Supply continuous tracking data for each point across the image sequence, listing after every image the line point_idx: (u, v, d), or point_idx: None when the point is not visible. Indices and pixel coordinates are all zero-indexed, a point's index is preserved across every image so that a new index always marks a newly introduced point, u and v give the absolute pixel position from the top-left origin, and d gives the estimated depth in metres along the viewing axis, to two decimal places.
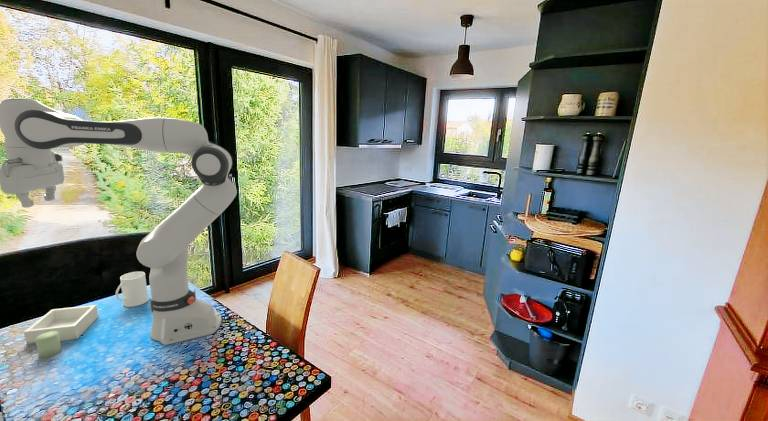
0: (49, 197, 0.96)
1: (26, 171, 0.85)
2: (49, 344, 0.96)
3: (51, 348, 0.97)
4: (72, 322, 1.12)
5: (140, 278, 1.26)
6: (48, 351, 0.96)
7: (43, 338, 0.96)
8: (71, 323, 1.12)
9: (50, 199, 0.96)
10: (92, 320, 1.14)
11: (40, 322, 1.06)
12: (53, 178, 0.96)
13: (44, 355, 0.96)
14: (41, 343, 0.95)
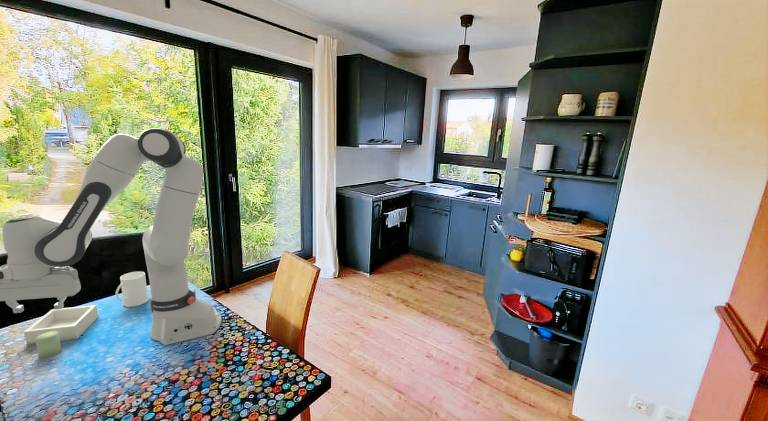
0: (22, 307, 0.94)
1: None
2: (49, 344, 0.96)
3: (51, 348, 0.97)
4: (72, 322, 1.12)
5: (140, 278, 1.26)
6: (48, 351, 0.96)
7: (43, 338, 0.96)
8: (71, 323, 1.12)
9: (22, 309, 0.94)
10: (92, 320, 1.14)
11: (40, 322, 1.06)
12: None
13: (44, 355, 0.96)
14: (41, 343, 0.95)
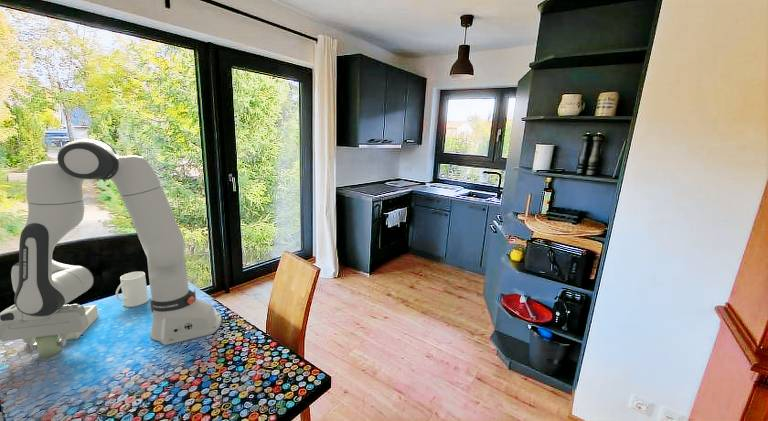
0: None
1: None
2: (49, 344, 0.96)
3: (51, 348, 0.97)
4: None
5: (140, 278, 1.26)
6: (48, 351, 0.96)
7: (43, 338, 0.96)
8: None
9: None
10: (92, 320, 1.14)
11: None
12: None
13: (44, 355, 0.96)
14: (41, 342, 0.95)
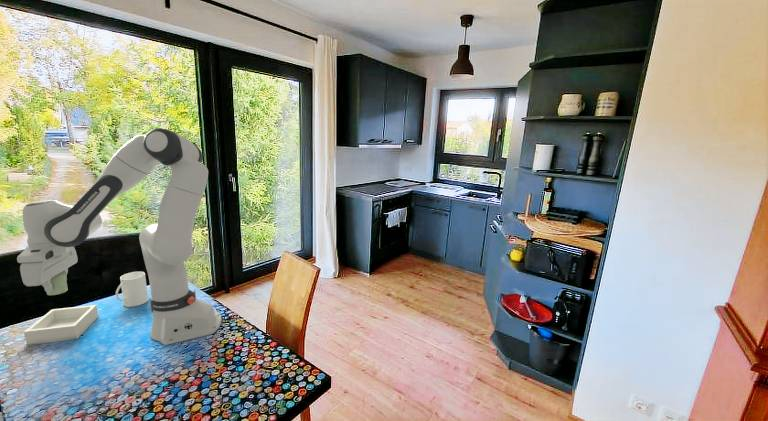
0: None
1: None
2: (65, 278, 1.07)
3: (66, 282, 1.07)
4: (72, 322, 1.12)
5: (140, 278, 1.26)
6: (66, 284, 1.07)
7: (58, 275, 1.05)
8: (71, 323, 1.12)
9: None
10: (92, 320, 1.14)
11: (40, 322, 1.06)
12: None
13: (66, 289, 1.06)
14: (63, 277, 1.05)
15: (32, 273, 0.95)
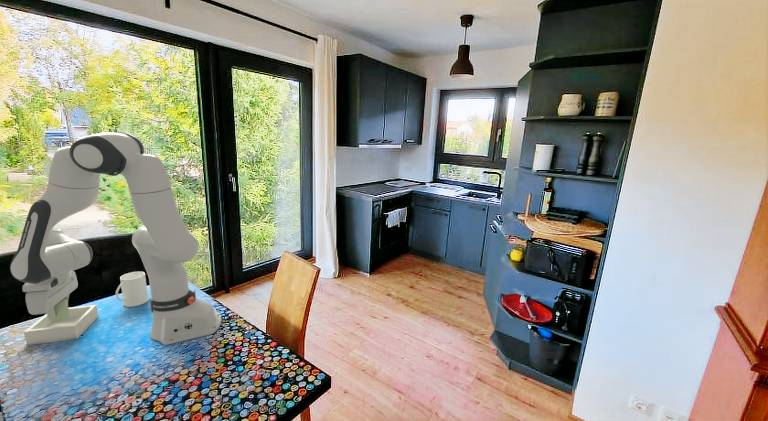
0: None
1: None
2: (67, 304, 1.09)
3: None
4: (72, 322, 1.12)
5: (140, 278, 1.26)
6: (68, 310, 1.09)
7: (60, 302, 1.06)
8: (71, 323, 1.12)
9: None
10: (92, 320, 1.14)
11: (40, 322, 1.06)
12: None
13: (67, 315, 1.08)
14: (65, 303, 1.07)
15: (37, 301, 0.96)
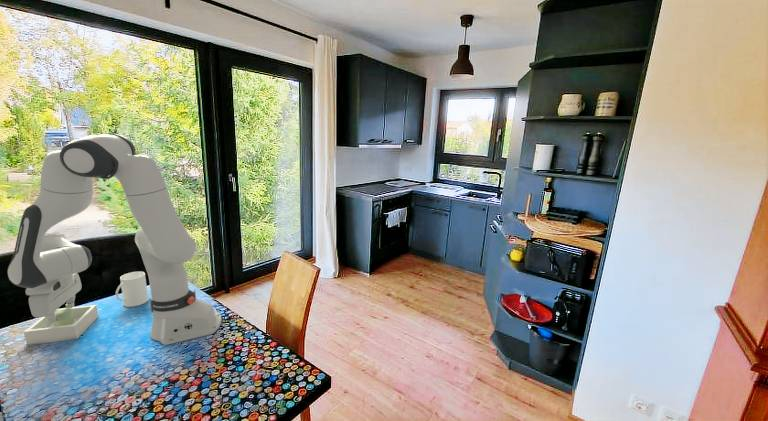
0: None
1: None
2: (72, 314, 1.10)
3: None
4: None
5: (140, 278, 1.26)
6: (73, 320, 1.10)
7: (65, 312, 1.08)
8: None
9: None
10: (92, 320, 1.14)
11: (40, 322, 1.06)
12: None
13: None
14: (70, 313, 1.09)
15: (40, 305, 0.97)
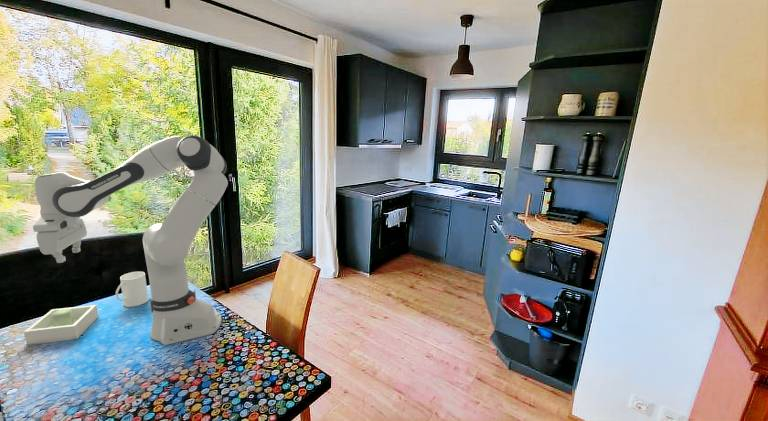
0: None
1: None
2: None
3: None
4: None
5: (140, 278, 1.26)
6: (73, 320, 1.10)
7: (65, 312, 1.08)
8: None
9: None
10: (92, 320, 1.14)
11: (40, 322, 1.06)
12: None
13: None
14: (70, 313, 1.09)
15: (48, 241, 0.99)
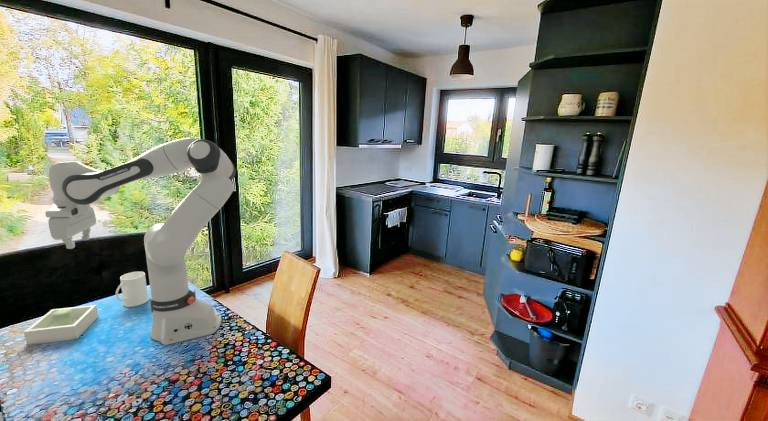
0: None
1: None
2: (72, 314, 1.10)
3: None
4: None
5: (140, 278, 1.26)
6: (73, 320, 1.10)
7: (65, 312, 1.08)
8: None
9: None
10: (92, 320, 1.14)
11: (40, 322, 1.06)
12: None
13: None
14: (70, 313, 1.09)
15: (59, 227, 1.02)
